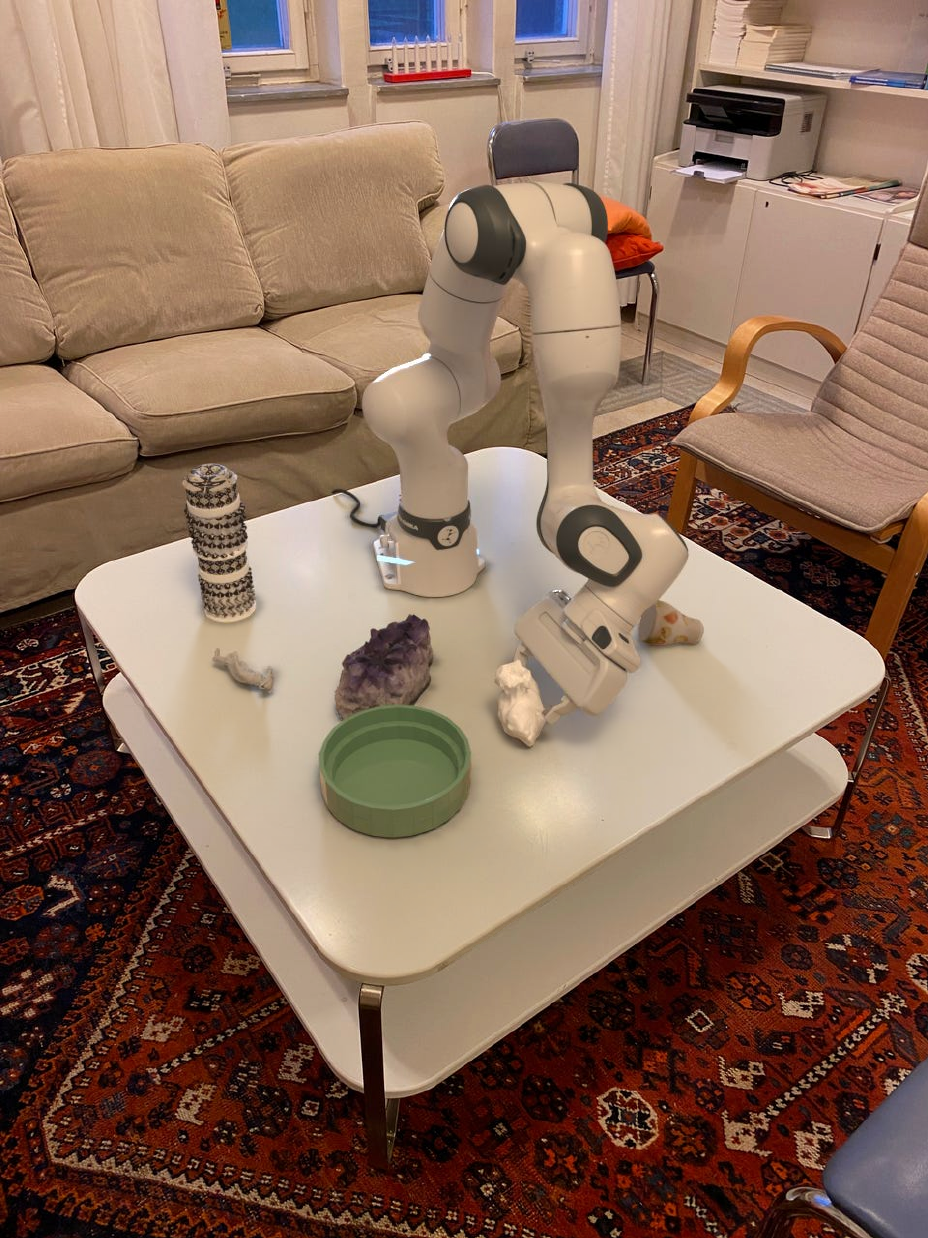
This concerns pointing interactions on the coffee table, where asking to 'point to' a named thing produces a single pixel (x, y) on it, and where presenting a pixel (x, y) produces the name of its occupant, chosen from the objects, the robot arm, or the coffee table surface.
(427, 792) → the bowl
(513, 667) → the bust
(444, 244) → the robot arm
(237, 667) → the grey figurine
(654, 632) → the mug
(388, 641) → the geode
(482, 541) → the coffee table surface
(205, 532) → the decorative candle
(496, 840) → the coffee table surface
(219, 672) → the coffee table surface
